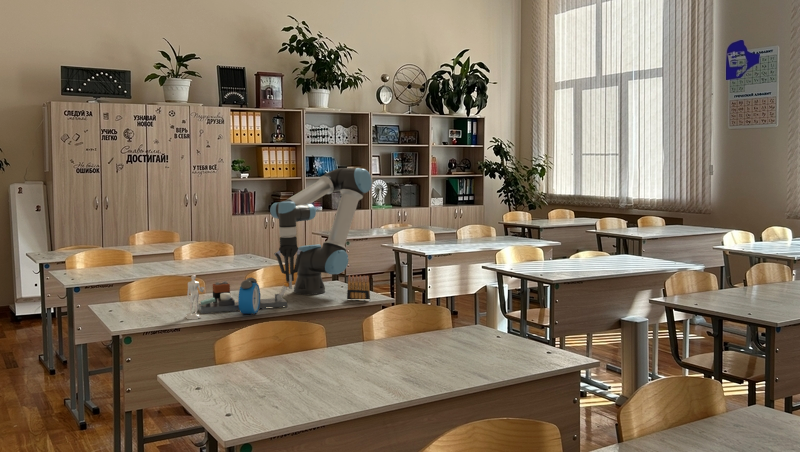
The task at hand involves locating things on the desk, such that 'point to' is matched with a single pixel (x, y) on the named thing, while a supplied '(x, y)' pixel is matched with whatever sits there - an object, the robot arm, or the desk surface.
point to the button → (225, 296)
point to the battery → (220, 289)
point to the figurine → (194, 293)
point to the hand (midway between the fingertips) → (290, 288)
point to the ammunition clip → (356, 292)
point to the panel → (234, 305)
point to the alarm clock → (249, 296)
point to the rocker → (207, 301)
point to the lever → (284, 288)
